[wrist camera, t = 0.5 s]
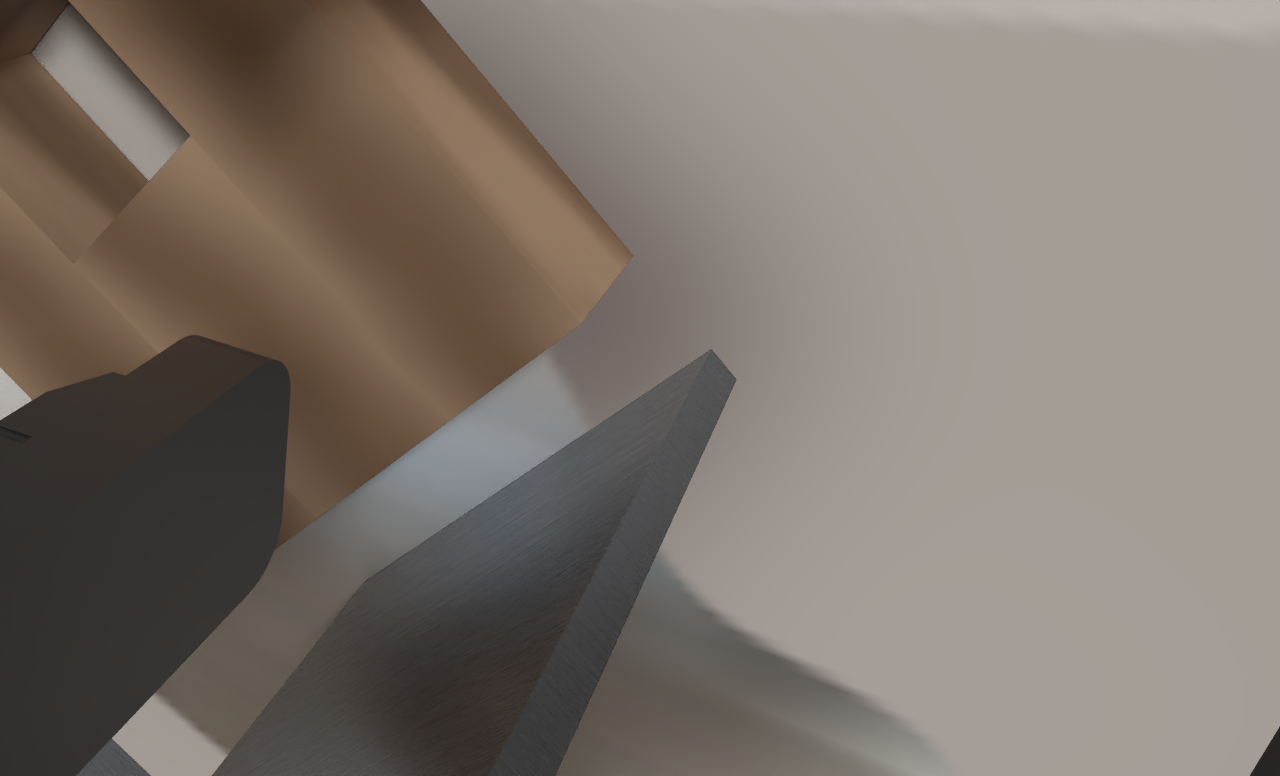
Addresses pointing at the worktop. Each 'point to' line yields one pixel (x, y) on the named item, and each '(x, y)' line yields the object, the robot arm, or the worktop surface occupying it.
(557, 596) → the thin grey panel
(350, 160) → the socket block
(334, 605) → the worktop surface
